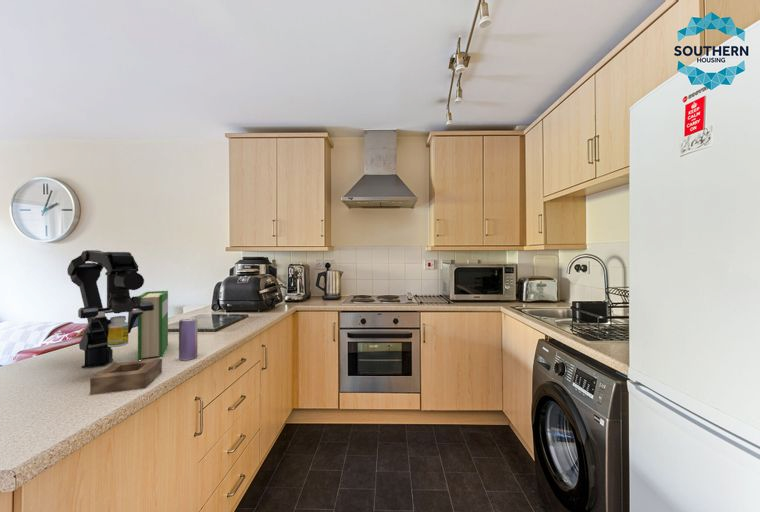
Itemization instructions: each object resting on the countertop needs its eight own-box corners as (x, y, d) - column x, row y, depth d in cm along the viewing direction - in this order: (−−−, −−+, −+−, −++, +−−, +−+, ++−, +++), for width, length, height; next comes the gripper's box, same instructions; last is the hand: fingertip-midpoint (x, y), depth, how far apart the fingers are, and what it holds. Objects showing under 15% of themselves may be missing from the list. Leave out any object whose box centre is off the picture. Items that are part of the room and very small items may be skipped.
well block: (90, 394, 84) (90, 378, 84) (114, 376, 96) (114, 362, 96) (145, 388, 88) (145, 372, 88) (161, 371, 101) (161, 358, 101)
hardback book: (162, 357, 115) (162, 295, 115) (137, 360, 111) (137, 296, 111) (167, 345, 130) (167, 290, 130) (146, 348, 127) (146, 291, 127)
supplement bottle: (110, 344, 103) (110, 316, 103) (130, 342, 105) (130, 314, 105) (104, 348, 98) (104, 319, 98) (125, 346, 100) (125, 317, 100)
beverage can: (188, 361, 111) (188, 320, 111) (174, 360, 112) (175, 320, 112) (201, 356, 117) (201, 317, 117) (188, 355, 118) (188, 317, 118)
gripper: (83, 293, 89) (83, 345, 89) (158, 288, 104) (158, 332, 104) (77, 290, 96) (77, 339, 96) (149, 286, 111) (149, 328, 111)
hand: (118, 334), depth 102 cm, fingers closed on supplement bottle, 5 cm apart
